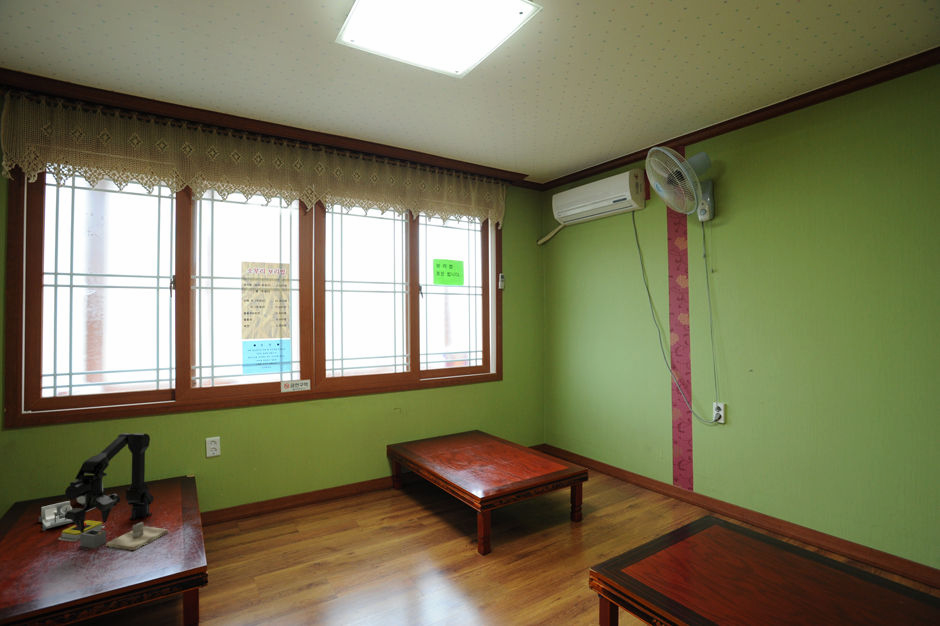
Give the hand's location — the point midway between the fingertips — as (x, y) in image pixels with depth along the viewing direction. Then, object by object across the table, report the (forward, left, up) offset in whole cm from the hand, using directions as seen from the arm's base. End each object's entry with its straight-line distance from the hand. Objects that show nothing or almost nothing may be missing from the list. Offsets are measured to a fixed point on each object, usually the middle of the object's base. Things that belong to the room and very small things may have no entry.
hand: (93, 527), depth 195 cm
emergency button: (-7, -15, -8) cm, 18 cm away
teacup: (-34, -45, -7) cm, 57 cm away
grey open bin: (0, 0, -7) cm, 7 cm away
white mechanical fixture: (-11, -35, -8) cm, 37 cm away
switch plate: (-8, +14, -7) cm, 18 cm away
